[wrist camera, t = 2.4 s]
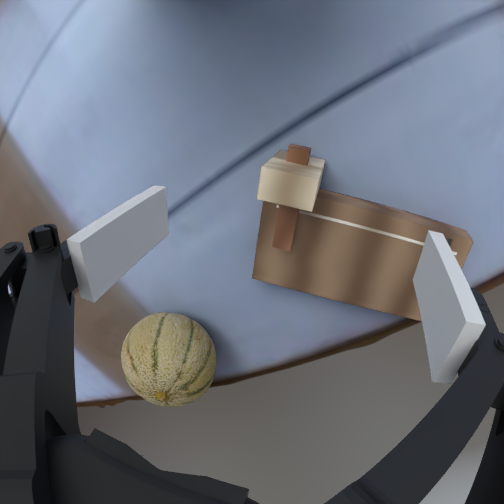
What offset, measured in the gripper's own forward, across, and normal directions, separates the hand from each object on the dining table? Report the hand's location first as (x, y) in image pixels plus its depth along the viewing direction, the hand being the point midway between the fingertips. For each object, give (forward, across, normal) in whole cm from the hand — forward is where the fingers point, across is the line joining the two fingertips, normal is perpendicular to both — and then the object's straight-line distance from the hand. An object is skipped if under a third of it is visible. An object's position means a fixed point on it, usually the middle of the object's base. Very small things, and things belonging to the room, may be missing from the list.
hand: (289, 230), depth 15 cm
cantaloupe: (+22, -18, -31) cm, 42 cm away
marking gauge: (+21, -3, -5) cm, 21 cm away
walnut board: (+21, +6, -11) cm, 25 cm away
